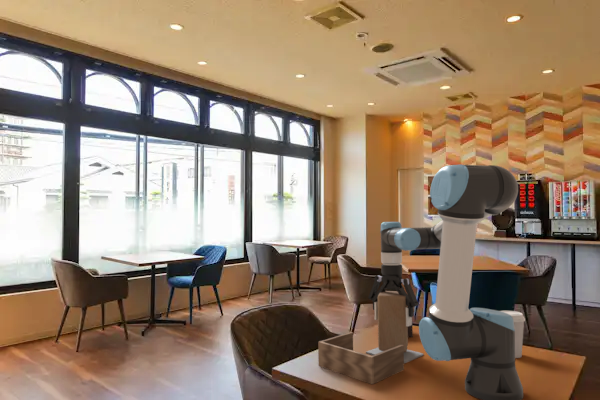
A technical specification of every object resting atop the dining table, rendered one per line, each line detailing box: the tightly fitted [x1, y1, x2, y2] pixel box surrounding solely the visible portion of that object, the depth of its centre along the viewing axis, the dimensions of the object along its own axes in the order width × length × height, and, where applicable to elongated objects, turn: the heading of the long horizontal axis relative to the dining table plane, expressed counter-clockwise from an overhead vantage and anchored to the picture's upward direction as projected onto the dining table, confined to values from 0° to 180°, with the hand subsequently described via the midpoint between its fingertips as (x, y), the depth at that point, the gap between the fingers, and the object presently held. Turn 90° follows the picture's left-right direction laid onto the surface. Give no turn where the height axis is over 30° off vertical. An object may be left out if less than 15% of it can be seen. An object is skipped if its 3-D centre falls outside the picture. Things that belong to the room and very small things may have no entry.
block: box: [377, 290, 409, 352], centre depth 155 cm, size 10×10×20 cm
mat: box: [365, 347, 424, 365], centre depth 155 cm, size 16×13×1 cm
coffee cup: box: [500, 310, 526, 359], centre depth 153 cm, size 10×10×15 cm
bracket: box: [317, 331, 405, 385], centre depth 142 cm, size 23×17×8 cm
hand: (392, 322), depth 155 cm, fingers closed on block, 13 cm apart
